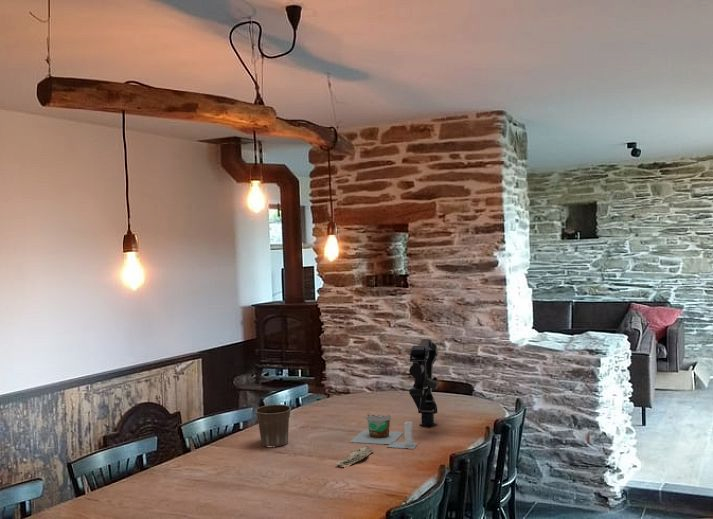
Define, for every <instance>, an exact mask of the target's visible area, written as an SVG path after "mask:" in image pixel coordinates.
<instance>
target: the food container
mask: <svg viewBox="0 0 713 519" xmlns="http://www.w3.org/2000/svg"><path fill="white" fill-rule="evenodd" d="M365 419H366V421H367V426H368V430H369V435H370V437H373V438H385V437H388V436H389V431H390V424H391V420H392V416H391V414H389V415H381V414H369V412H367V414H366V416H365Z"/></svg>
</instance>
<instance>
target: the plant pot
mask: <svg viewBox="0 0 713 519" xmlns="http://www.w3.org/2000/svg"><path fill="white" fill-rule="evenodd" d="M291 410H292V407H291V406H289V405H288V404H287V405H285V404H270V405H269V404H268V405H263V406H260V407H256V409H255V414H256V419H257V421H258V428H259V436H260V444H262V446H263V445H264V446H277V447H282V446H281V445H284V446H286V445H287V444H288V443H289V424H290V417H291V416H290V415H291ZM285 444H286V445H285ZM264 446H263V447H264Z"/></svg>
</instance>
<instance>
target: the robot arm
mask: <svg viewBox="0 0 713 519" xmlns="http://www.w3.org/2000/svg"><path fill="white" fill-rule="evenodd" d="M438 354H439V349H438V347H437V344H436V343H434V342H433V341H432V339H430V338H425V339H424V338H423V339H421V340H420V342H419V343H418V345H412V347H411V348H410V354H409V362H410V363H412V365H411V366H410V367H409V374H410V375H411V376H412V378H413V382H414V383H413V384H412V385H413V386H412V387H411V388H410V389H409V390H408V392H409V393H408V394H409V395H410V397H411V398H412V400H413V402H414V403H415V406H416V408H417V413H418V414H421V423H419V426H421V427H425V426H426V428H431V427H434V426H437V425H438V423H437V422H435V414H438V412H439V411H438V404H437V403H436V400H435V398H434V395H433V393H432V391H433V390H437V389H438V387H439V384H440V381H439V379H438V377H436V376H434V377H433V374H434V372H433V371H434V364H435V363H436V361H437V357H438Z"/></svg>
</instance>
